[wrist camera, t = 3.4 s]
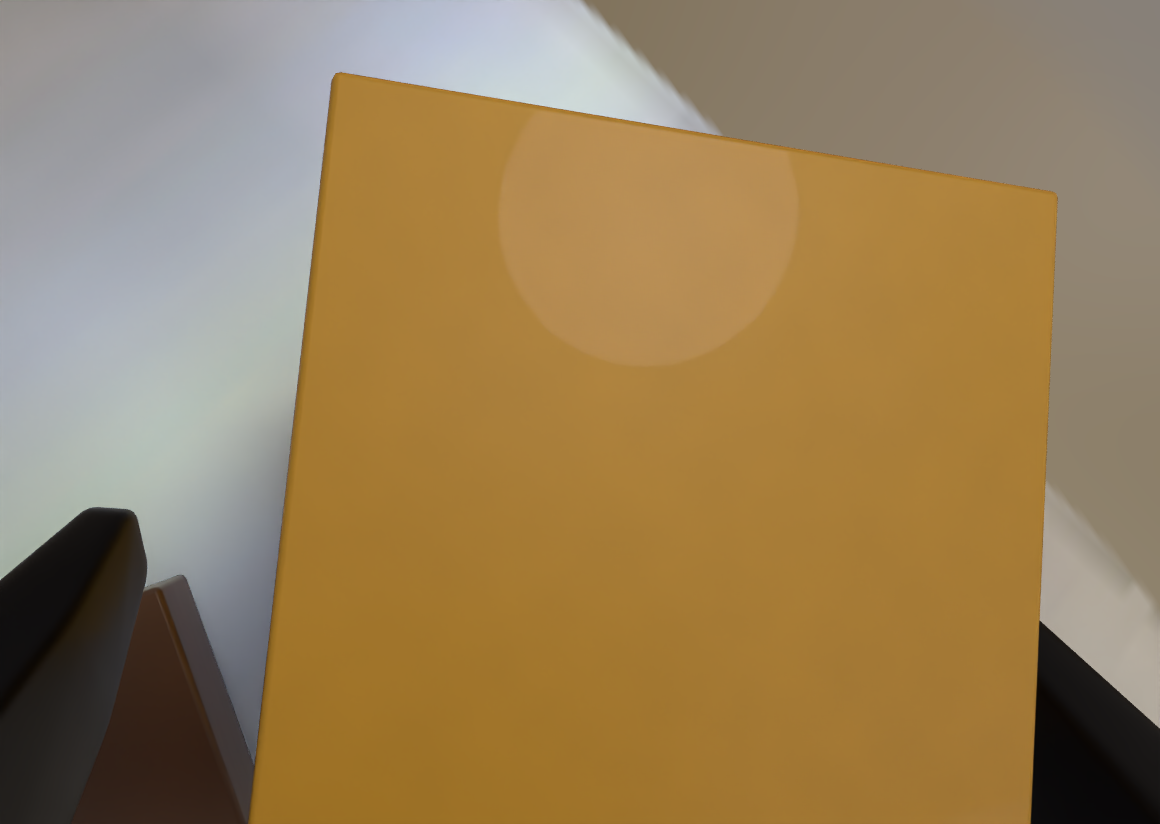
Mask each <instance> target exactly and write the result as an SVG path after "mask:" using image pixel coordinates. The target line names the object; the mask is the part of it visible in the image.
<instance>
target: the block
mask: <svg viewBox="0 0 1160 824" xmlns="http://www.w3.org/2000/svg"><path fill="white" fill-rule="evenodd" d="M1057 201H1058V198H1057V195H1056V193H1054V192H1051V191H1046V190H1040V189H1034V188H1028V187H1022V186H1016V185H1009V184H1004V183H998V182H992V181H986V180H980V179H974V178H968V177H962V176H956V175H950V174H944V173H938V172H932V171H926V170H921V169H914V168H908V167H903V166H897V165H890V164H885V163H878V162H873V161H867V160H861V159H855V158H848V157H843V156H837V155H831V154H825V153H819V152H813V151H806V150H801V149H795V148H789V147H783V146H777V145H771V144H765V143H759V142H753V141H747V140H742V139H736V138H730V137H724V136H718V135H712V134H706V133H700V132H694V131H688V130H682V129H676V128H670V127H664V126H658V125H652V124H646V123H640V122H634V121H628V120H622V119H616V118H610V117H604V116H598V115H592V114H586V113H580V112H574V111H569V110H563V109H557V108H551V107H545V106H539V105H533V104H527V103H521V102H515V101H509V100H503V99H497V98H491V97H485V96H479V95H473V94H467V93H461V92H455V91H449V90H443V89H437V88H431V87H425V86H419V85H413V84H407V83H401V82H395V81H390V80H384V79H378V78H372V77H366V76H360V75H354V74H348V73H342V72H341V73H336V74H335V75H334V77H333V79H332V82H331V91H330V100H329V109H328V118H327V127H326V136H325V144H324V153H323V162H322V171H321V180H320V189H319V198H318V207H317V215H316V224H315V233H314V242H313V251H312V260H311V269H310V278H309V287H308V295H307V304H306V313H305V322H304V331H303V340H302V349H301V358H300V366H299V375H298V384H297V393H296V402H295V411H294V420H293V429H292V437H291V446H290V455H289V464H288V473H287V482H286V491H285V500H284V509H283V517H282V526H281V535H280V544H279V553H278V562H277V571H276V580H275V588H274V597H273V606H272V615H271V624H270V633H269V642H268V651H267V659H266V668H265V677H264V686H263V695H262V704H261V713H260V722H259V731H258V739H257V748H256V757H255V766H254V775H253V784H252V793H251V802H250V810H249V819H248V824H1031V804H1032V780H1033V757H1034V734H1035V711H1036V688H1037V665H1038V641H1039V618H1040V595H1041V572H1042V549H1043V526H1044V502H1045V479H1046V455H1047V433H1048V432H1047V431H1048V409H1049V385H1050V363H1051V362H1050V361H1051V339H1052V317H1053V293H1054V271H1055V269H1054V268H1055V246H1056V223H1057Z"/></svg>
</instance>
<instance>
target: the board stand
mask: <svg viewBox="0 0 1160 824" xmlns="http://www.w3.org/2000/svg"><path fill="white" fill-rule="evenodd" d="M253 775H254V765H253V762H252V759H251V756H250V754H249V751H248V748H247V745H246V742H245V740H244V737H243V734H242V731H241V729H240V726H239V723H238V720H237V717H236V715H235V712H234V709H233V706H232V704H231V701H230V698H229V695H228V693H227V690H226V687H225V684H224V681H223V679H222V676H221V673H220V670H219V668H218V665H217V662H216V659H215V657H214V654H213V651H212V648H211V645H210V643H209V640H208V637H207V634H206V632H205V629H204V626H203V623H202V621H201V618H200V615H199V612H198V609H197V607H196V604H195V601H194V598H193V596H192V593H191V590H190V587H189V585H188V582H187V579H186V578H185V577H184V576H183V575H177V576H175V577H172V578H169V579H166V580H164V581H161V582H158V583H155V584H153V585H150V586H147V587H144V590H143V594H142V598H141V602H140V606H139V610H138V613H137V617H136V621H135V625H134V629H133V633H132V637H131V641H130V645H129V649H128V652H127V656H126V660H125V664H124V668H123V672H122V676H121V680H120V684H119V688H118V692H117V695H116V699H115V703H114V707H113V710H112V714H111V717H110V721H109V725H108V727H107V730H106V733H105V736H104V739H103V742H102V744H101V747H100V750H99V752H98V755H97V758H96V760H95V763H94V765H93V768H92V771H91V773H90V776H89V778H88V781H87V783H86V786H85V789H84V791H83V794H82V796H81V799H80V801H79V804H78V807H77V809H76V812H75V814H74V817H73V820H72V822H71V824H248V819H249V810H250V802H251V793H252V784H253Z"/></svg>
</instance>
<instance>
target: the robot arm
mask: <svg viewBox="0 0 1160 824" xmlns="http://www.w3.org/2000/svg"><path fill="white" fill-rule="evenodd" d="M146 575H147V559H146V554H145V550H144V546H143V541H142V537H141V532H140V528H139V523H138V519H137V517H136V515H135V514H134V512H132V511H131V510H128V509H117V508H103V507H93V508H89V509H87V510H85V511H83V512H82V513H80V514H79V515H78V516H77V517H75V518H74V519H73V520H72V521H71V522H69V523H68V524H67V525H66V526H65V527H63V528H62V529H61V530H60V531H59V532H57V533H56V534H55V535H54V536H53V537H51V538H50V539H49V540H48V541H47V542H45V543H44V544H43V545H42V546H41V547H39V548H38V549H37V550H36V551H35V552H34V553H32V554H31V555H30V556H29V557H28V558H26V559H25V560H24V561H23V562H22V563H20V564H19V565H18V566H17V567H16V568H14V569H13V570H12V571H11V572H10V573H8V574H7V575H6V576H5V577H4V578H2V579H1V580H0V824H71V822H72V820H73V817H74V814H75V812H76V809H77V807H78V804H79V801H80V799H81V796H82V794H83V791H84V789H85V786H86V783H87V781H88V778H89V776H90V773H91V771H92V768H93V765H94V763H95V760H96V758H97V755H98V752H99V750H100V747H101V744H102V742H103V739H104V736H105V733H106V730H107V727H108V725H109V721H110V717H111V714H112V710H113V707H114V703H115V699H116V695H117V692H118V688H119V684H120V680H121V676H122V672H123V668H124V664H125V660H126V656H127V652H128V649H129V645H130V641H131V637H132V633H133V629H134V625H135V621H136V617H137V613H138V610H139V606H140V602H141V598H142V594H143V590H144V586H145V582H146ZM1031 824H1160V728H1158V727H1157V726H1156V725H1155V724H1154V723H1153V722H1152V721H1151V720H1150V719H1148V718H1147V717H1146V716H1145V715H1144V714H1143V713H1142V712H1141V711H1140V710H1138V709H1137V708H1136V707H1135V706H1134V705H1133V704H1132V703H1131V702H1130V701H1128V700H1127V699H1126V698H1125V697H1124V696H1123V695H1122V694H1121V693H1120V692H1118V691H1117V690H1116V689H1115V688H1114V687H1113V686H1112V685H1111V684H1110V683H1108V682H1107V681H1106V680H1105V679H1104V678H1103V677H1102V676H1101V675H1100V674H1098V673H1097V672H1096V671H1095V670H1094V669H1093V668H1092V667H1091V666H1090V665H1088V664H1087V663H1086V662H1085V661H1084V660H1083V659H1082V658H1081V657H1080V656H1078V655H1077V654H1076V653H1075V652H1074V651H1073V650H1072V649H1071V648H1070V647H1068V646H1067V645H1066V644H1065V643H1064V642H1063V641H1062V640H1061V639H1060V638H1058V637H1057V636H1056V635H1055V634H1054V633H1053V632H1052V631H1051V630H1050V629H1048V628H1047V627H1046V626H1045V625H1044V624H1043V623H1042V622H1041V621H1040V620H1039V641H1038V665H1037V688H1036V711H1035V734H1034V757H1033V780H1032V804H1031Z"/></svg>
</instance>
